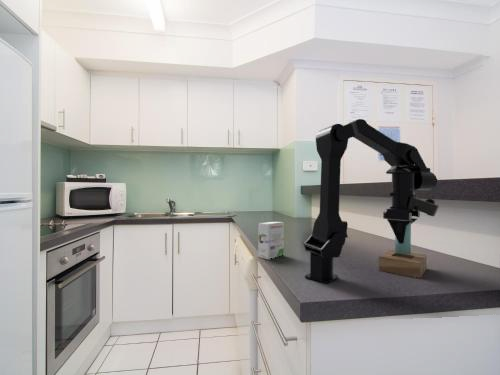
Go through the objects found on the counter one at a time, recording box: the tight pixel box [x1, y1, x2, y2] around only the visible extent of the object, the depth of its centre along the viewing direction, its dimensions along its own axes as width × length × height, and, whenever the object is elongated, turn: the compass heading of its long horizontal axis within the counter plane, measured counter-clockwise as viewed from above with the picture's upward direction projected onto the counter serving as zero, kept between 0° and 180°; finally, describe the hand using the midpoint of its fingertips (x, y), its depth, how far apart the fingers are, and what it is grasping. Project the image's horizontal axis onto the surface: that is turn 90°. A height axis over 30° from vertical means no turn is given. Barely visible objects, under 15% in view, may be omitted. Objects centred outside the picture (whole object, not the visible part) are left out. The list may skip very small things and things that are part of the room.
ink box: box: [257, 221, 285, 260], centre depth 88 cm, size 8×5×12 cm, turn 135°
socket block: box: [378, 249, 428, 278], centre depth 74 cm, size 12×10×4 cm
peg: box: [394, 223, 412, 254], centre depth 74 cm, size 4×4×10 cm
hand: (402, 242), depth 74 cm, fingers closed on peg, 4 cm apart
